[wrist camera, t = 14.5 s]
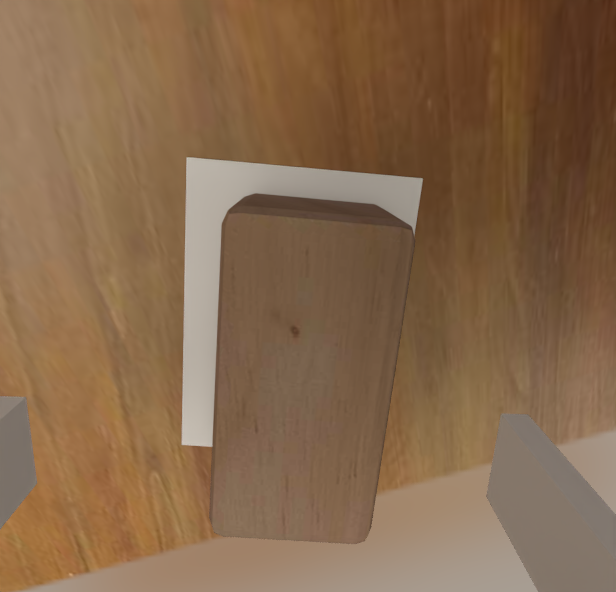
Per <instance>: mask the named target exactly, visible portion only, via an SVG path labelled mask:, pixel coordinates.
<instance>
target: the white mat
mask: <svg viewBox="0 0 616 592" xmlns="http://www.w3.org/2000/svg"><path fill="white" fill-rule="evenodd" d="M422 181H423V178H414V177H403V176H392V175H381V174H369V173H358V172H347V171H336V170H325V169H314V168H303V167H292V166H281V165H270V164H258V163H247V162H236V161H225V160H214V159H203V158H192V157H187V167H186V225H185V284H184V342H183V400H182V445H193V446H209V447H212V440H213V417H214V393H215V369H216V346H217V322H218V299H219V275H220V251H221V228H222V222H223V220H224V217H225V215H226V213H227V211H228V210H229V209H230V208H231V207H232V206H234V205H235V204H236V203H237V202H239V201H240V200H241V199H242V198H243V197H245V196H248V195H251V194H255V193H258V194H269V195H280V196H291V197H302V198H312V199H323V200H334V201H345V202H356V203H367V204H375V205H377V206H379V207H381V208H383V209H384V210H386V211H388V212H389V213H391V214H393V215H394V216H396V217H397V218H399V219H401V220H402V221H404V222H406V223H407V224H409V225H410V226H412V229H413V233H414V235H415V228H416V222H417V215H418V208H419V201H420V195H421V188H422Z"/></svg>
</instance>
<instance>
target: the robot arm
mask: <svg viewBox="0 0 616 592" xmlns="http://www.w3.org/2000/svg"><path fill="white" fill-rule="evenodd" d="M36 484H37V479H36V471H35V463H34V455H33V448H32V440H31V432H30V424H29V417H28V409H27V401H26V397H7V396H0V529H1V528H2V526H3V525H4V524H5V523H6V521H7V520H8V519H9V518H10V516H11V515H12V514H13V513H14V511H15V510H16V509H17V508H18V506H19V505H20V504H21V503H22V501H23V500H24V499H25V498H26V496H27V495H28V494H29V493H30V491H31V490H32V489H33V488H34V486H35V485H36ZM487 499H488V500H489V502H490V504H491V506H492V508H493V510H494V511H495V513H496V515H497V517H498V519H499V521H500V522H501V524H502V526H503V528H504V530H505V532H506V533H507V535H508V537H509V539H510V541H511V543H512V545H513V546H514V548H515V550H516V552H517V554H518V555H519V557H520V559H521V561H522V563H523V565H524V567H525V568H526V570H527V572H528V574H529V576H530V578H531V579H532V581H533V583H534V585H535V587H536V588H537V590H538V592H616V514H615V513H614V512H613V511H612V510H611V509H610V507H608V505H607V504H606V503H605V502H604V501H603V500H602V498H601V497H600V496H599V495H598V494H597V493H596V491H595V490H594V489H593V488H592V487H591V486H590V485H589V484H588V482H587V481H586V480H585V479H584V478H583V477H582V476H581V474H580V473H579V472H578V471H577V470H576V469H575V468H574V466H573V465H572V464H571V463H570V462H569V461H568V460H567V458H566V457H565V456H564V455H563V454H562V453H561V452H560V450H559V449H558V448H557V447H556V446H555V445H554V444H553V442H552V441H551V440H550V439H549V438H548V437H547V436H546V434H545V433H544V432H543V431H542V430H541V429H540V428H539V426H538V425H537V424H536V423H535V422H534V421H533V420H532V418H531V417H530V416H529V415H526V414H501V417H500V423H499V429H498V434H497V440H496V445H495V451H494V457H493V462H492V468H491V473H490V479H489V485H488V490H487Z"/></svg>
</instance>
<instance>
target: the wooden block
mask: <svg viewBox="0 0 616 592" xmlns="http://www.w3.org/2000/svg"><path fill="white" fill-rule="evenodd" d="M414 247H415V237H414V233H413V229H412V226H410V225H409V224H407V223H406V222H404V221H402V220H401V219H399V218H397V217H396V216H394V215H393V214H391V213H389V212H388V211H386V210H384V209H383V208H381V207H379V206H377V205H375V204H367V203H356V202H345V201H334V200H323V199H312V198H302V197H291V196H280V195H269V194H258V193H255V194H251V195H248V196H245V197H243V198H242V199H241V200H240V201H239V202H237V203H236V204H235V205H234V206H232V207H231V208H230V209H229V210H228V211H227V213H226V215H225V217H224V220H223V222H222V228H221V251H220V275H219V299H218V322H217V346H216V369H215V393H214V417H213V440H212V464H211V488H210V511H209V518H210V521H211V524H212V527H213V530H214V533H216V534H219V535H221V536H223V537H241V538H259V539H276V540H294V541H312V542H328V543H346V544H357V543H360V542H363V541H365V539H366V538H367V536H368V534H369V531H370V528H371V524H372V518H373V511H374V505H375V498H376V492H377V485H378V479H379V473H380V466H381V460H382V453H383V447H384V440H385V434H386V427H387V421H388V415H389V408H390V402H391V395H392V389H393V382H394V376H395V369H396V363H397V356H398V350H399V344H400V337H401V331H402V324H403V318H404V311H405V305H406V298H407V292H408V285H409V279H410V273H411V266H412V260H413V253H414Z"/></svg>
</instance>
